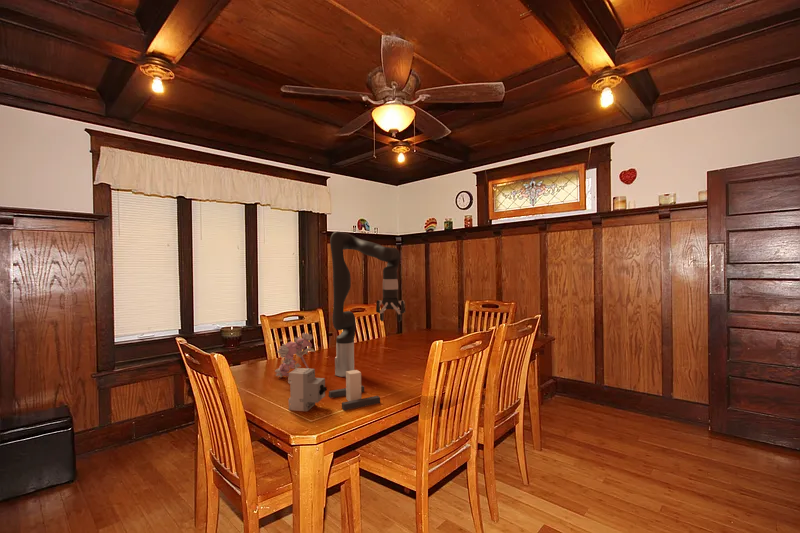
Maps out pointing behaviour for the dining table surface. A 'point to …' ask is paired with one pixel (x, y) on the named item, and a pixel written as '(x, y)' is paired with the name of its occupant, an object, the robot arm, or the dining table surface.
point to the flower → (290, 350)
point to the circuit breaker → (305, 389)
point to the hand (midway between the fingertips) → (390, 321)
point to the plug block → (353, 385)
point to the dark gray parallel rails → (354, 403)
